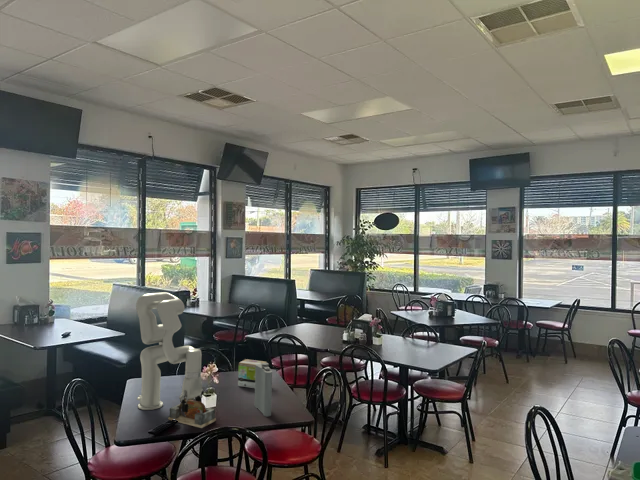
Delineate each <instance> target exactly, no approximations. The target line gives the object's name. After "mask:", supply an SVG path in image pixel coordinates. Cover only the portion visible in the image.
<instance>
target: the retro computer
mask: <svg viewBox="0 0 640 480" xmlns="http://www.w3.org/2000/svg"><path fill="white" fill-rule="evenodd" d="M262 363H268V362H267V361H263V360H256V359H255V360H254V359H248V358H247V359H246V358H244V359H243V360H242V361H240V362H238V370H237V371H238V372H237V373H238V374H237V375H238V377H237V387H245V388H252V389H255V371H256V364H262Z"/></svg>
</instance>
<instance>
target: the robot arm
mask: <svg viewBox="0 0 640 480" xmlns="http://www.w3.org/2000/svg"><path fill="white" fill-rule="evenodd" d="M135 307H136V312H137V317H138V319H139V329H140V338H141V341H142V343H143V344H144V345H151V346H148V347H145V348H144V349H143V350H141V352H140V355H139V359H140V364H141V389H140V390H141V392H140V393H141V395H138V397H137V398H136V400H137V401H139V403H138V404H137V408H138V409H140V410H142V411H151V410H157V409H160V408H162V407H163V405H164V402H163V401H161V379H162V378H161V376H162V375H161V373H162V371H161V369H160V367H159V365H158V364H162V363H165V362H169V364H171V365H172V364H173V365H176V364H180V363H183V362H184V363H185V371H184V378H183V381H182V387H181V394H180V395H179V396H178V399H179V401H180V404H181V403H182V411H183V412H186V413H187V412H188V404H187V403H188V401H189V399H190V400H193V399H194V398H195V401H199V402H202V399H203V395H204V393H205V389H206V388H205V387H204V386H203V383H202V350H201V349H200V348H195V347H193V346H191V345H183V346H182V345H181V346H178V347H175V346H174V342H173V336H174V334H175V333H177V332H178V331H179V330H180V329H181V328H182V326H183V325H182V323H181V320H180V318H179V315H182V314H183V313H184V312H185V304H184V302H183V300H181V299H180V298H178V296H175V295H173V294H171V293H169V292H166V291H163V292H162V291H161V292H151V293H149V292H148V293H145V294H142V295H140V296H139V297H138V298H137V301H136V304H135ZM153 310H157V313H158V315H159V319H160V322H161V323H160V324H158V321H157V317H156V314H155V313H154V312H153ZM157 343H158V345H153V346H152V344H157ZM185 400H186V401H185Z"/></svg>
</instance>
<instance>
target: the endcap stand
mask: <svg viewBox="0 0 640 480" xmlns="http://www.w3.org/2000/svg"><path fill="white" fill-rule="evenodd" d="M180 404H181V403H179V404H176V405H174V406H171V407H169V417H168V418H167V419H168V420H169V421H172V420H173V419H175V420H177V421H178V422H177V423H180V424H184V425H187V426H193V427H195V428H200V429H203V428H205V427H207V426H208V425H210V424H212V423H215V422H216V420H217V418H216V413H215V412H216V409H215V408H210V407H206V412H205V413H203V414H202V413H196V414H195V419H191V418H186V417H184V416H182V415H181V413H180V409H179V407H180Z"/></svg>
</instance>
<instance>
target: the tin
mask: <svg viewBox="0 0 640 480" xmlns="http://www.w3.org/2000/svg"><path fill="white" fill-rule="evenodd" d="M186 400H187V399H185V401H186ZM179 404H180V407H179V409H180V413H181V415H182V416H184V417H186V418H191V419H195V414H196V413H202V414H203V413H205V412H206V409H207V407H206V405H205V404H204V402H202V401H201V402H199V401H196V400H193V399H189V401H188V403H187V404H188V412H187V413H186V412H183V411H182V403H181V402H180V403H179Z"/></svg>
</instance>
